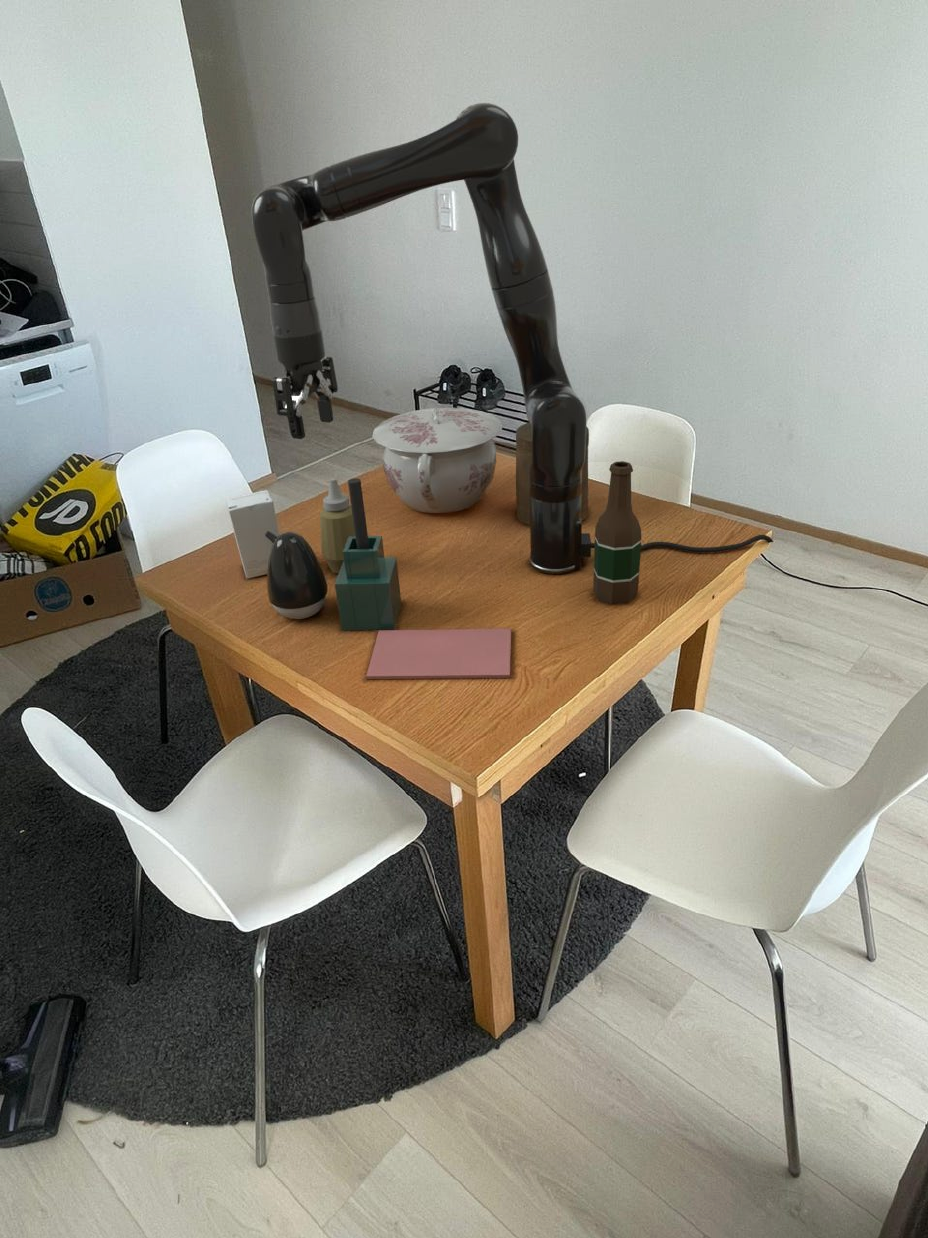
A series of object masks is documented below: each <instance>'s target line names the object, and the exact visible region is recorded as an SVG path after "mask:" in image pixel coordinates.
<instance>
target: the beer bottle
mask: <svg viewBox="0 0 928 1238" xmlns="http://www.w3.org/2000/svg"><path fill="white" fill-rule="evenodd" d="M608 470H609V472H610V478H609V486H608V487H609V488H608V489H609V490H608V498H607V503H606V508H605V510H604V511H603V512H602V514H601V515H600V516H599V517H598V521H597V523H596V525H595V530H594V543H595V544H594V548H593V549H594V550H593V574H592V575H593V576H592V577H593V579H592V583H593V592H594V594H595V596H596V599H597V600H598V601H599V602H603V603H606V604H609V605H614V606H615V605H622V604H624V605H625V604H629V603H630V602H631V601H632V600H634V599H635V598H636V597H637V596H638V592H639V585H640V584H639V583H640V568H641V567H640V566H641V554H642V551H641V545H642V528H641V524H640V522H639V520H638V518H637V516H636V515H635V513H634V511H633V505H632V504H633V503H632V473H633V472H634V469H633V465H632V463H630V462H627V461H624V460H623V461H622V460H621V461H615V462H613V463H611V464H610V466H609V468H608Z"/></svg>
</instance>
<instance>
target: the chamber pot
mask: <svg viewBox="0 0 928 1238" xmlns="http://www.w3.org/2000/svg"><path fill="white" fill-rule="evenodd" d="M502 430H503V425H502V421H500V419H499V418H497V417H496V416H495V415H493V414H491V413H488V412H486V411H482V410H477V409H472V408H466V407H465V408H463V407H446V406H445V407H430V408H422V409H418V410H417V409H416V410H411V411H408V412H404V413H401V414H397V415H394V416H391V417H390V418H387V419H385V420H383V421H381V422H380V423H379V424H378V425H377V426H376V427H374V429H373V432H372V438H373V439H374V441H375V442H376V444H378V445H380V446H382V447H384V448H383V450H382V455H381V460H382V468H383V472H384V475H385V477H386V481H387V483H388V485H389V487H390V488H391V490H392V492H394V493H395V495H396V496H397V497H398V498H399V499H400V501H401V502H402V503H403V504H404V505H405V506H406V507H408V508H410V509H412V510H414V511H417V512H421V513H427V514H447V513H453V512H458V511H462V510H466V509H468V508H471V507H472V506H474V505H475V504H477V503H478V502H479V501H480V500H481V499H482V498H483V496H484V494H485V493H486V491H487V490H488V488H489V486H490V485H491V483H492V482H493V479H494V478H495V477H494V476H495V472H496V465H497V447H496V443H495V441H494V440H493V439H495V438H496V437H497V436H499V434H500V433H501V431H502Z"/></svg>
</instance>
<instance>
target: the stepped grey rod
mask: <svg viewBox="0 0 928 1238" xmlns="http://www.w3.org/2000/svg"><path fill="white" fill-rule="evenodd" d="M347 485H348V487H347V488H348V492H349V502H350V505H351V508H352V515H353V522H354V530H355V537H356V544H357V549H369V541H368V536H369V535H368V534H369V533H368V526H367V520H366V512H365V511H366V510H365V504H364V503H365V502H364V497H363V488H362V480H361V478H356V477H353V478H350V479H348V480H347Z"/></svg>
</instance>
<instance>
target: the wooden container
mask: <svg viewBox="0 0 928 1238" xmlns="http://www.w3.org/2000/svg"><path fill="white" fill-rule="evenodd" d="M589 444H590V429H589V427H588V426H587V425H586V449H585V462H584V465H583V468H582V489H581V521H582V522H583V521H584V520H585V519H586V518H587V517H588V511H589V510H588V507H589V446H590V445H589ZM531 461H532V427H531V425H530V423H529V422H525V423H524V424H521V425H519V427H517V428H516V430H515V493H516V495H515V496H516V497H515V499H516V516H517V518H518V520H519V521H521V522H522V523H524V524H526V525H529V526H530V477H529V465H530V462H531Z"/></svg>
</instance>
